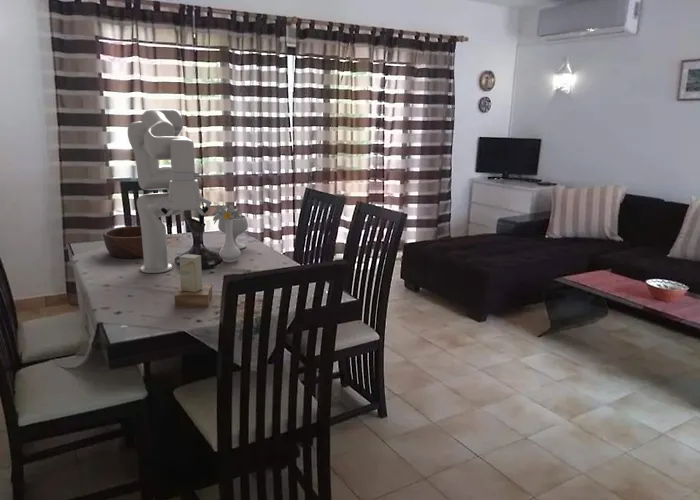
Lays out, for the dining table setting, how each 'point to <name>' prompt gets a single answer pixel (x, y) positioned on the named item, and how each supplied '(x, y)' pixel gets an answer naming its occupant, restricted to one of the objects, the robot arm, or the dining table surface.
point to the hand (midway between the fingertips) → (186, 226)
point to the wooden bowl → (124, 242)
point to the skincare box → (190, 272)
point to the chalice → (235, 229)
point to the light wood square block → (193, 298)
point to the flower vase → (228, 231)
